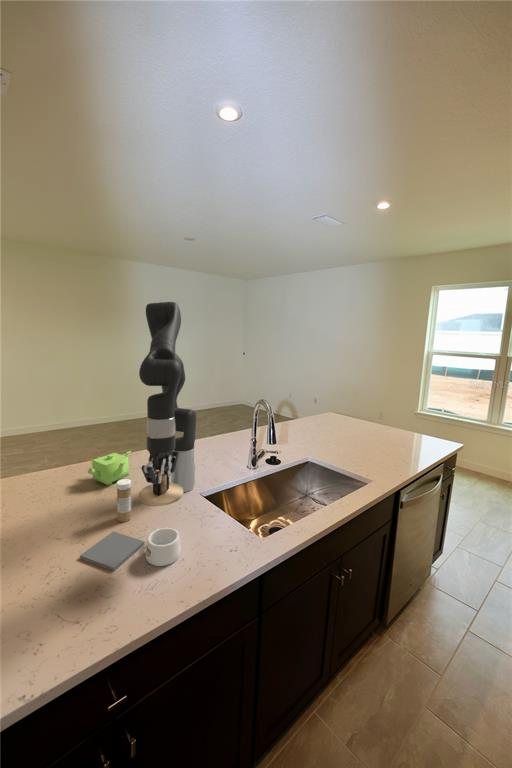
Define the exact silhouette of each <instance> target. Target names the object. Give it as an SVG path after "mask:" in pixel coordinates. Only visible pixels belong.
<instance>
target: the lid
mask: <svg viewBox="0 0 512 768" xmlns="http://www.w3.org/2000/svg"><path fill="white" fill-rule="evenodd" d="M156 478H158V475H156ZM161 482H162V494H161V495H160V496H158V495H154V494H153V483H150V484H148V485H146V486H145V487H143V488H142V489H141V490H140V491H139V492H138V501H139V502H140V503H142V504H144V505H146V506H150V507H163V506H168V505H171V504H174V503H176V502H178V501H180V500H181V499H182V498H183V496H184V492H183V488H182V487H181V486H180V485H178V484H175V483H171V481H169V489H168V490H167V475H166V474H165V473H164V474H162V479H161Z"/></svg>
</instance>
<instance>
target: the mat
mask: <svg viewBox="0 0 512 768" xmlns="http://www.w3.org/2000/svg"><path fill="white" fill-rule="evenodd" d="M143 546H145V540H141V539H139V538H136V537H132V536H129V535H126V534H123V533H120V532H117V531H113V530H112V531H111V532H110V533H109V534H108V535H106V536H104V537H103V538H102V539H101V540H99V541H98V542H96V543H95V544H94V545H92V546H90V548H88V549H87V550H85V551H84V552H83V553H81V554H80V555H79V559H80V560H83V561H86V562H88V563H91V564H93V565H95V566H99V567H101V568H104V569H106V570H109V571H113V572H115V571H116V570H117V569H119V567H121V566H122V565H123V564H124V563H125V562H126V561H128V560H129V558H131V557H132V556H133V555H135V554H136V553H137V552H138V551H139V550H140V549H141V548H143Z"/></svg>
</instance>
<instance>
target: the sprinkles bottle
mask: <svg viewBox="0 0 512 768" xmlns="http://www.w3.org/2000/svg"><path fill="white" fill-rule="evenodd" d="M115 486H116V495H117V496H116V498H117V499H116V501H117V502H116V508H117V509H116V510H117V521H118V522H121V523H122V522H123V523H125V522H128V521H130V520H131V519H132V489H131V488H132V480H131V479H129V478H123V479H121V480H116V485H115Z"/></svg>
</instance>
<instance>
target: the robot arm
mask: <svg viewBox="0 0 512 768" xmlns="http://www.w3.org/2000/svg"><path fill="white" fill-rule="evenodd" d="M145 317H146V323H147V326H148V329H149V334H150V338H151V340H150V341H151V342H150V347H149V348H150V349H149V352H148V354H147V355H146V356H145V358H144V359H143V361H141V364H140V367H139V369H138V370H139V371H138V373H139V379H140V381H141V383H142V384H143V385H145V386H147V387H161V390H162V392H159V393H153V394H151V395H149V396H148V397H147V401H146V403H147V404H146V406H147V414H146V416H147V417H146V419H147V421H146V451H148V453H149V456H148V462H147V464H146V465H142V466H141V468H140V469H141V471H142V474H143V475H144V478H145V480H146V482H147V483H149V484H153V494H154V495H158V496H160V495H161V494H162V482H161V479H162V474H164V473H165V474H166V475H167V490H168V489H169V482H170V483H175V484H178V485H180V486H181V487H182V488H183V493H188V492H190V491H192V490H193V489H194V487H195V486H194V485H196V484H195V480H196V479H195V478H196V477H195V473H196V471H195V470H196V465H195V464H196V463H195V441H196V430H197V413H196V411H195V410H194V409H191V408H183V407H182V408H180V407H179V406H178V402H177V401H178V400H177V399H178V396H179V394H180V392H181V390H182V389H183V386H184V385H185V382H186V372H185V367H184V366H185V365H184V362H183V360H182V359H181V357H180V356H179V355H178V354H177V353H176V344H177V339H178V336H179V333H180V329H181V325H182V313H181V310H180V307H179V304H178V303H176V301H164V302H163V301H161V302H150V303H148V304H146V306H145ZM176 432H182V436H181V437H177V438H176ZM156 475H158V478H156Z"/></svg>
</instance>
